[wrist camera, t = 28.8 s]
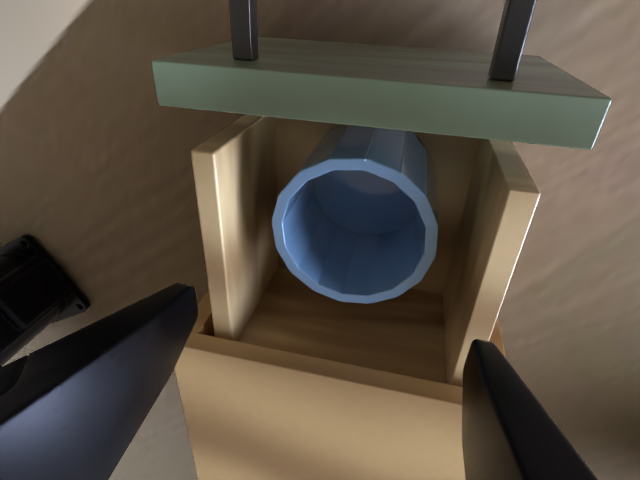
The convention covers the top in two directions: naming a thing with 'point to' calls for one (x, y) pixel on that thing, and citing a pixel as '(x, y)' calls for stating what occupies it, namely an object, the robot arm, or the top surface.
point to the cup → (360, 215)
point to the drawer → (380, 112)
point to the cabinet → (312, 415)
